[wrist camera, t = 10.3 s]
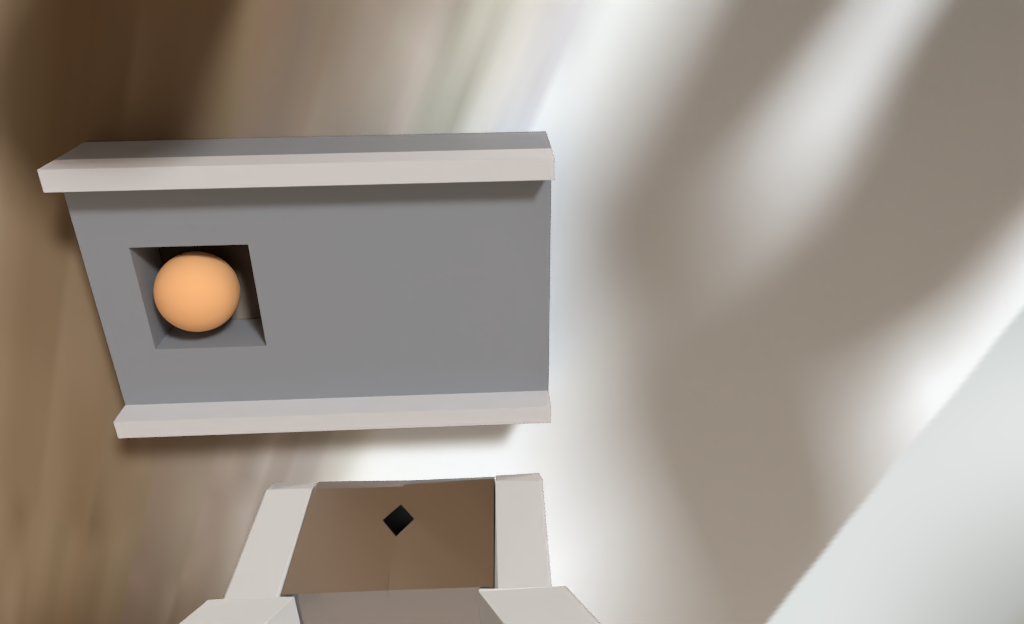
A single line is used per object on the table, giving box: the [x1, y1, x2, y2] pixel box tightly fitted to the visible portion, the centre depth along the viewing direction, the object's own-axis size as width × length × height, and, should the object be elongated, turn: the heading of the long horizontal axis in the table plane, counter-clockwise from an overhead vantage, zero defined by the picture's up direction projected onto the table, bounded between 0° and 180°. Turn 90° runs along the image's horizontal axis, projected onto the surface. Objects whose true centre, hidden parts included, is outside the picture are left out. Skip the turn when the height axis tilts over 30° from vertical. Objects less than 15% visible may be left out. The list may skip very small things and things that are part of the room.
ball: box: [153, 251, 240, 332], centre depth 38 cm, size 4×4×4 cm
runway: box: [37, 132, 555, 438], centre depth 38 cm, size 22×14×4 cm, turn 91°
